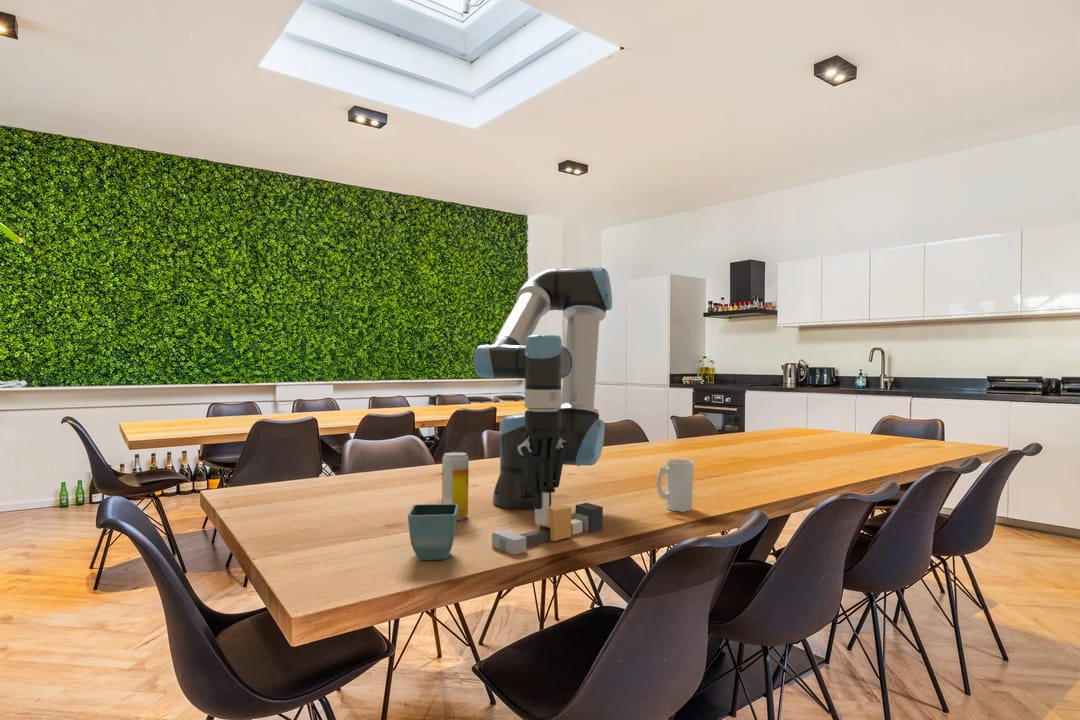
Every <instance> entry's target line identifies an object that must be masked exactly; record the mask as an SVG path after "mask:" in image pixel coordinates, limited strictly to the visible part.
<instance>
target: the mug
mask: <svg viewBox="0 0 1080 720" xmlns="http://www.w3.org/2000/svg"><path fill="white" fill-rule="evenodd" d="M664 474H665V490H666V491H665V492H664V491H663V488H662V483H661V482H662V477H664ZM693 483H694V461H693V460H688V459H679V458H677V459H675V458H674V459H667V460H665V467H664V466H660V467H659V471H658V474H657V476H656V489H657V492H658V495H659V498H660V499H661V500H665V501H666V509H667V510H668V509H669V510H668V511H671V510H672V512H676V511H679V513H684V512H685V513H686V511H688V512H691V511H692V509H693V491H694V490H693V487H694V486H693V485H694V484H693Z"/></svg>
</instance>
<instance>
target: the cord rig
mask: <svg viewBox="0 0 1080 720" xmlns="http://www.w3.org/2000/svg"><path fill="white" fill-rule="evenodd" d="M574 510H575V518H574V519H571V536H573V535H577V534H580V533H581V532H582V533H583V531H584V532H589V531H590V532H589V533H594V532H593V531H595V532H598V531H597V530H599V531H602V530H601V529H603V525H604V524H603V523H604V519H603V517H604V512H603V511H604V507H603V506H601V505H597V504H593V503H589V502H583V503H579V504H575V509H574ZM549 541H551V540H550V528H549V527H548V528H544V529H540V530H536V529H535V530H533V531H528V532H527V531H526V532H523V533H519V534H518V533H515V532H512V531H509V530H506V529H500V530H496V531H491V546H492V547H493V548H495V549H498V550H500V551H503V552H505V553H508V554H511V555H512V556H515V555H518V554H522V553H523V554H524V553H526V552H527V547H530V546H534V545H538V544H541V543H545V542H549Z"/></svg>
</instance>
